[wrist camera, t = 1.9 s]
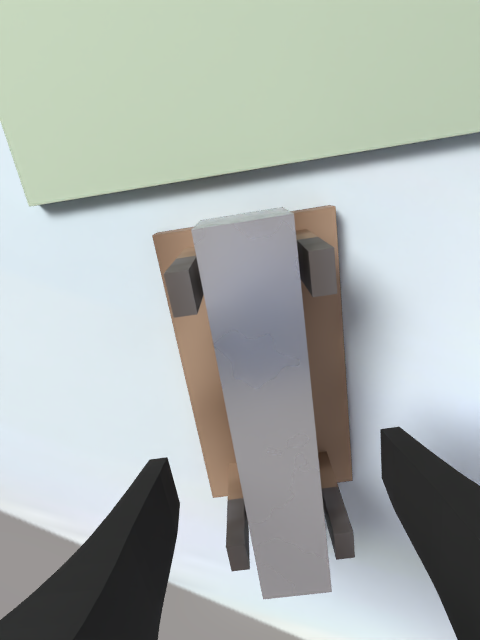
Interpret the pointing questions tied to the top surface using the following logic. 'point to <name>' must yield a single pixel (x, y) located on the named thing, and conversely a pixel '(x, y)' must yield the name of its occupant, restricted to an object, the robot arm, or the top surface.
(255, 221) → the rail
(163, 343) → the top surface
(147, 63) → the mat
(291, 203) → the top surface
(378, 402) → the top surface
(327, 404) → the stand
